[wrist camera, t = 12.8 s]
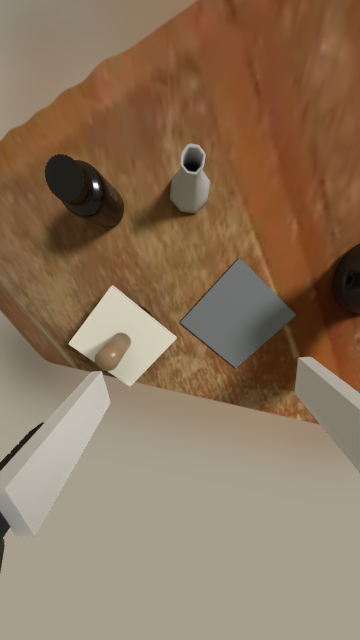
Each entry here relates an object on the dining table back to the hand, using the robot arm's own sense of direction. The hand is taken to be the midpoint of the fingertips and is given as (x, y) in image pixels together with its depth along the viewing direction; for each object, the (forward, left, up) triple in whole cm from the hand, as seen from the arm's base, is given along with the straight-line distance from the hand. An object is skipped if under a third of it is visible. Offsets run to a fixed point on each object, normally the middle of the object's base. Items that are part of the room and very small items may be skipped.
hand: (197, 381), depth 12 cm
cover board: (+5, +13, -21) cm, 25 cm away
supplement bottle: (+23, -3, -27) cm, 36 cm away
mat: (-11, -4, -27) cm, 29 cm away
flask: (+13, -15, -27) cm, 34 cm away
